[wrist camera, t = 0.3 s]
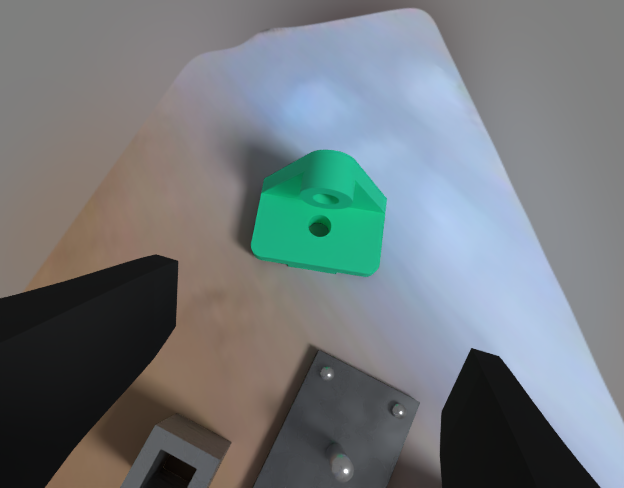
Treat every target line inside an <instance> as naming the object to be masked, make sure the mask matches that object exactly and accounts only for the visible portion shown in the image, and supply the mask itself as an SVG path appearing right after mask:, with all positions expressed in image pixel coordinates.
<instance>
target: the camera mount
mask: <svg viewBox="0 0 624 488" xmlns="http://www.w3.org/2000/svg"><path fill="white" fill-rule="evenodd" d="M386 202H387V198H386V197H385V196H384V195H383V193H382V192H381V191H380V190H379V189H378V187H377V186H376V185H375V184H374V182H373V181H372V180H371V179H370V177H369V176H368V175H367V174H366V173H365V171H364V170H363V169H362V168H361V166H360V165H359V164H358V163H357V162H356V160H355V159H354V158H352V157H351V156H349V155H347V154H345V153H342V152H339V151H334V150H317V151H313V152H311V153H309V154H307V155H306V156H304V157H302V158H300V159H298V160H297V161H295V162H293V163H291V164H289V165H288V166H286V167H284V168H282V169H280V170H279V171H277V172H275V173H273V174H271V175H270V176H268V177H266V178H264V182H263V187H262V192H261V197H260V202H259V207H258V212H257V217H256V222H255V227H254V232H253V237H252V242H251V248H252V251H253V254H254V256H255V257H256V258H257V259H259V260H264V261H270V262H276V263H282V264H288V266H289V267H295V268H301V269H308V270H314V271H320V272H326V273H332V274H336V273H337V272H338V273H344V274H350V275H357V276H363V277H368V276H371V275H372V274H373V273H374V272H375V271H377V269H378V268H379V265H380V256H381V247H382V238H383V229H384V220H385V211H386ZM314 223H322V224H324V225H325V226H326V227H327V228H328V231H329V233H328V234H327V235H326V236H324V237H317V236H314V235H313V234H312V233H311V232H310V231H309V227H310V226H311V225H312V224H314Z"/></svg>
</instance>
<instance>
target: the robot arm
mask: <svg viewBox="0 0 624 488" xmlns="http://www.w3.org/2000/svg"><path fill="white" fill-rule="evenodd" d="M177 283H178V261H177V260H173V259H170V258H167V257H163V256H160V255H157V254H156V255H151V256H147V257H143V258H139V259H136V260H132V261H129V262H126V263H123V264H119V265H116V266H113V267H110V268H106V269H103V270H100V271H97V272H93V273H90V274H87V275H84V276H81V277H77V278H74V279H71V280H67V281H64V282H60V283H57V284H53V285H49V286H46V287H42V288H38V289H35V290H31V291H27V292H24V293H20V294H16V295H12V296H9V297H4V298H0V488H45V486H46V485H47V484H48V482H49V481H50V480H51V478H52V477H53V476H54V474H55V473H56V472H57V470H58V469H59V468H60V466H61V465H62V464H63V462H64V461H65V460H66V458H67V457H68V456H69V454H70V453H71V452H72V451H73V449H74V448H75V447H76V446H77V445H78V443H79V442H80V441H81V440H82V439H83V437H84V436H85V435H86V434H87V433H88V432H89V430H90V429H91V428H92V427H93V426H94V425H95V424H96V423H97V422H98V420H99V419H100V418H101V417H102V416H103V415H104V414H105V413H106V412H107V411H108V409H109V408H110V407H111V406H112V405H113V404H114V403H115V402H116V401H117V399H118V398H119V397H120V396H121V395H122V394H123V393H124V392H125V391H126V389H127V388H128V387H129V386H130V385H131V384H132V383H133V382H134V381H135V379H136V378H137V377H138V376H139V375H140V374H141V373H142V372H143V370H144V369H145V368H146V367H147V366H148V365H149V364H150V362H151V361H152V360H153V359H154V358H155V356H156V355H157V353H158V352H159V351H160V349H161V348H162V346H163V345H164V343H165V342H166V340H167V339H168V337H169V336H170V334H171V333H172V331H173V330H174V328H175V327H176V309H177ZM440 464H441V477H442V488H600V486H599V485H598V484H597V483H596V482H595V480H594V479H593V478H592V477H591V476H590V474H589V473H588V472H587V471H586V470H585V468H584V467H583V466H582V465H581V464H580V462H579V461H578V460H577V459H576V457H575V456H574V455H573V454H572V452H571V451H570V450H569V448H568V447H567V446H566V445H565V443H564V442H563V441H562V440H561V438H560V437H559V436H558V434H557V433H556V432H555V430H554V429H553V428H552V426H551V425H550V424H549V422H548V421H547V420H546V419H545V417H544V416H543V414H542V413H541V412H540V410H539V409H538V408H537V406H536V405H535V404H534V402H533V401H532V400H531V398H530V397H529V395H528V394H527V393H526V391H525V390H524V389H523V387H522V386H521V384H520V383H519V382H518V380H517V379H516V378H515V376H514V375H513V374H512V372H511V371H510V369H509V368H508V367H507V366H506V364H505V363H504V362H503V360H502V359H501V358H500V357H499V356H496V355H493V354H490V353H486V352H483V351H480V350H476V349H473V348H471V350H470V352H469V354H468V356H467V359H466V361H465V363H464V365H463V367H462V369H461V371H460V373H459V376H458V378H457V380H456V382H455V384H454V386H453V388H452V391H451V393H450V395H449V397H448V399H447V401H446V403H445V406H444V408H443V410H442V414H441V433H440Z"/></svg>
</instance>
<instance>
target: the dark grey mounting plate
mask: <svg viewBox="0 0 624 488" xmlns="http://www.w3.org/2000/svg"><path fill="white" fill-rule="evenodd" d="M419 404H420V402H418V401H416V400H415V399H413V398H411V397H409V396H407V395H405V394H403V393H401V392H399V391H397V390H395V389H393V388H391V387H389V386H388V385H386V384H384V383H382V382H380V381H378V380H376V379H374V378H372V377H370V376H368V375H366V374H364V373H362V372H360V371H359V370H357V369H355V368H353V367H351V366H349V365H347V364H345V363H343V362H341V361H339V360H337V359H335V358H333V357H332V356H330V355H328V354H326V353H324V352H322V351H320V350H318V352H317V354H316V356H315V358H314V360H313V362H312V364H311V366H310V369H309V371H308V373H307V375H306V377H305V379H304V381H303V383H302V385H301V387H300V389H299V391H298V394H297V396H296V398H295V400H294V402H293V404H292V406H291V408H290V410H289V412H288V414H287V417H286V419H285V421H284V423H283V425H282V427H281V429H280V431H279V433H278V435H277V437H276V439H275V442H274V444H273V446H272V448H271V450H270V452H269V454H268V456H267V458H266V460H265V462H264V465H263V467H262V469H261V471H260V473H259V475H258V477H257V479H256V481H255V483H254V485H253V487H252V488H387V485H388V483H389V480H390V477H391V475H392V472H393V470H394V467H395V465H396V462H397V460H398V457H399V455H400V452H401V450H402V447H403V445H404V442H405V440H406V437H407V434H408V432H409V429H410V427H411V424H412V422H413V419H414V417H415V414H416V412H417V409H418V407H419Z"/></svg>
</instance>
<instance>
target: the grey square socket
mask: <svg viewBox="0 0 624 488" xmlns="http://www.w3.org/2000/svg"><path fill="white" fill-rule="evenodd" d="M230 444H231V442H230V441H228V440H226V439H224V438H222V437H220V436H219V435H217V434H215V433H213V432H211V431H209V430H208V429H206V428H204V427H202V426H200V425H198V424H197V423H195V422H193V421H191V420H189V419H187V418H186V417H184V416H182V415H180V414H178V413H176V414H174V415H172V416H171V417H169V418H167V419H165V420H163V421H161V422H160V423H158V424H156V425H155V426H154V428H153V430H152V432H151V434H150V435H149V437H148V439H147V441H146V442H145V444H144V446H143V448H142V450H141V451H140V453H139V455H138V457H137V458H136V460H135V462H134V464H133V466H132V467H131V469H130V471H129V473H128V474H127V476H126V478H125V480H124V482H123V483H122V485H121V487H120V488H209V486H210V484H211V482H212V480H213V478H214V476H215V474H216V472H217V470H218V468H219V466H220V464H221V462H222V460H223V458H224V456H225V454H226V452H227V450H228V448H229V446H230ZM170 454H171V455H173V456H175V457H177V458H178V459H180V460H182V461H184V462H186V463H187V464H189V465H191V466H193V467H195V468H196V469H197V470H196V472H195V474H194V476H193V478H192V480H191V482H188V481H186V480H185V479H183V478H181V477H179V476H177V475H176V474H174V473H172V472H170V471H168V470H167V469H165V468H163V467H164V465H165V463H166V461H167V459H168V458H169V456H170Z"/></svg>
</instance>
